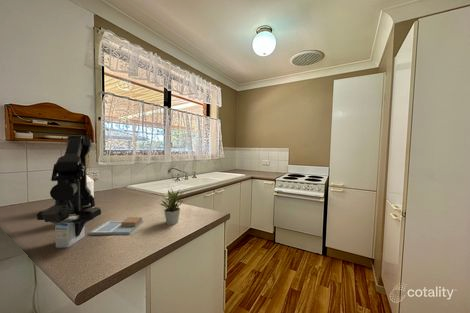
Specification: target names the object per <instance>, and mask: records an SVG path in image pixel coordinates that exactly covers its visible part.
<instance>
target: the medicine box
mask: <svg viewBox="0 0 470 313" xmlns="http://www.w3.org/2000/svg"><path fill="white" fill-rule="evenodd" d="M75 219H77V216H69V218H67V219H65V220H62V221H60V222H58V223H56V224H54V226H55V227H54V228H55V229H54V230H55V235H54V236H55V248H69V247H71V246H73V245H74V244H76V243H78V242H79V241H80V240H82V239H84V238H85V236H86V235H85V233H86V232H85V225H86V224H85V225H84V227H83V229H82V231H81V233H80V235H79V236H78V237H76V234H75V223H73V222H72V221H73V220H75Z"/></svg>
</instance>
